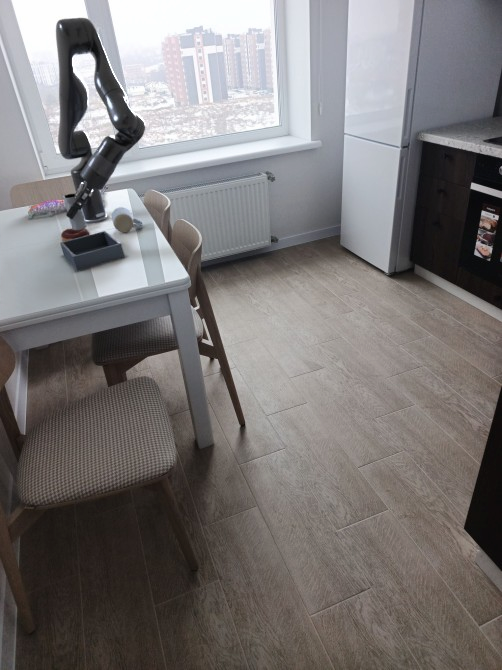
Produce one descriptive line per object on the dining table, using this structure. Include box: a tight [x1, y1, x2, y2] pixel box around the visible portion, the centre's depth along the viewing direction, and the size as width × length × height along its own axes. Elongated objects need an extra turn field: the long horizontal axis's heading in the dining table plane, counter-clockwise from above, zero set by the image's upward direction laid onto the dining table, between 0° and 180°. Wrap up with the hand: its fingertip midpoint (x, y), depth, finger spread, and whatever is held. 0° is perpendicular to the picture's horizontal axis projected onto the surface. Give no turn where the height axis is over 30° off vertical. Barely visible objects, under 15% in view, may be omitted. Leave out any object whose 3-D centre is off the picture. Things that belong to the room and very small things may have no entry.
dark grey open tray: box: [59, 230, 125, 272], centre depth 156 cm, size 17×16×5 cm
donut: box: [60, 228, 91, 242], centre depth 171 cm, size 10×10×4 cm
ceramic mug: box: [111, 206, 144, 233], centre depth 177 cm, size 11×8×8 cm
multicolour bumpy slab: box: [27, 199, 67, 220], centre depth 207 cm, size 30×15×5 cm, turn 104°
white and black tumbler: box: [62, 193, 88, 230], centre depth 148 cm, size 4×4×10 cm
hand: (69, 214), depth 148 cm, fingers closed on white and black tumbler, 4 cm apart
